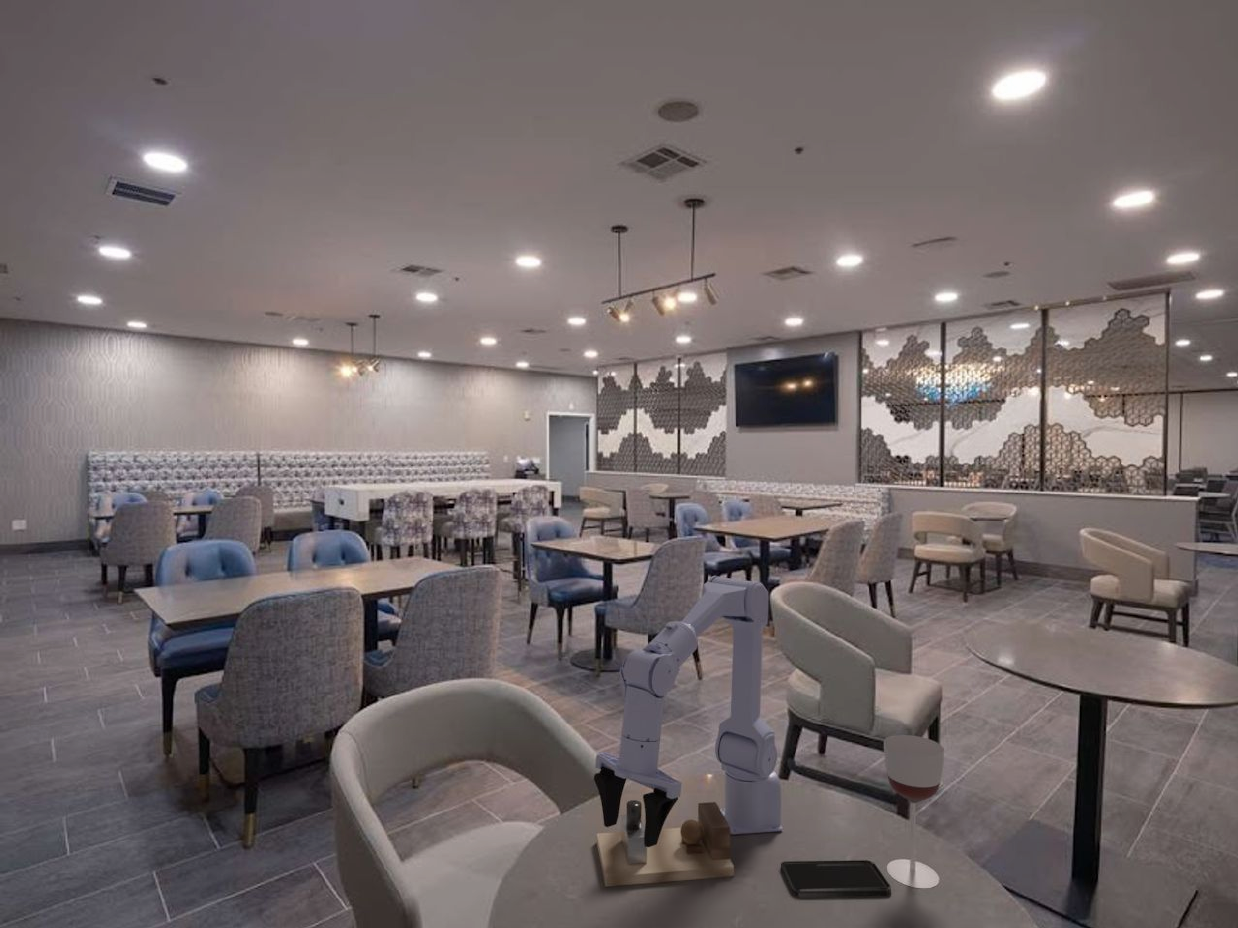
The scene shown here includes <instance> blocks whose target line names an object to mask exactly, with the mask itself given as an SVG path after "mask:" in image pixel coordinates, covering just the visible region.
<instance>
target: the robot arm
mask: <svg viewBox="0 0 1238 928" xmlns="http://www.w3.org/2000/svg"><path fill="white" fill-rule="evenodd" d="M769 598H770V597H769V591H768V589H767V588H766V587H765V586H764V584H763V583H762V582H761V581H759V580H758V581H757V580H754V581H752V580H744V579H736V578H728V577H722V576H718V575H713V576H711V577H710V578H709V579H708V580H707V581H706V582H705V583H704V584H703V585H702V589H701V597H700V599H699V600H697V602H696V604H695V605H694V606H693V607H692V608H691V609H690V611H689V612H688V613H687V614H686V616H685V617H684V618H683V619H682V620H681V621H680V620H674V621H669V622H667V623H666V624H665V626H664V628H662V630H661V631H660V632H658V634H657V635H655V637H654V638H653V639H652V640H651V641H649V642H648V644H646V646H645V647H643V649H635V650H633V651H631V652H630V653H628V654H627V655H626V656H625V657H624V660H623V662H622V664H621V665H622V666H621V667H620V668H619V680H620V683H621V685H622V693H621V694H622V695H621V696H622V698H623V700H624V708H623V716H622V725H621V733H620V742H619V751H618V755H614V754H611V753H608V752H600V753H597V754H596V756H595V765H594V767H595V768H596V769H598V770H599V772H597V773H595V774H594V775H593V780H594V783H595V786H596V788H597V790H598V791H597V792H598V794H599V797H600V798H599V799H600V803H601V809H602V810H601V811H602V818H603V826H604V827H606V828H610V827H612V826H615V825H616V826H617V823H618V819H619V815H620V807H621V800H622V795H623V792H624V788H625V784H626V782H627V780H630V781H632V782H635V783H637V784H639V785H642V786H645V788H649V789H652V790H653V791H651V792H648V793H644V794H643V795H642V798H643V799H642V800H643V804H644V805H643V806H644V812H645V813H644V814H645V824H644V829H645V833H644V845H645V846H646V847H651V846H653V845H656V844H657V842H658V839H659V835H660V833H661V830H662V829H663V827H664V824H665V822H666V820H667V818H668V815H669V814H670V812H671V810H672V809H673V807H674V806H675V804H676V803H677V802H678V800H679V797H681V792H682V784H683V783H682V782H681V781H679V780H677V779H675V778H673V777H672V776H670V775H669V774H667V773H666V772H663V771H662V770H661V769H660V768H658V763H659V756H660V755H659V753H660V744H661V735H662V728H663V727H662V725H663V718H664V717H663V715H664V706H665V697H666V696H665V695H667V694H668V693H669V692H670V693H671V691H672V689H673V687H674V685H675V683H676V679H677V676H678V675H679V672H680V667H681V666H682V665H684V663H685V662H686V661H687V660H688V659H689V658H690V657H691V656H692V655H693V654H694V652H695V651H696V650H697V648H698V647H699V646H698V645H699V644H698V641H699V640H698V638H699V637H700V636H701V635H702V634H703V633H705V631H706V630H708V629H709V628H710V627H711V626H713V625H714V624H715V622H717V621H718V620H719V619H721V618H723V619H725V621H726V622H727V623H728V625H730V626H731V628H732V630H733V633H732V634H733V636H732V637H733V638H732V664H731V665H732V667H731V668H732V669H731V670H732V671H731V672H732V673H731V698H730V700H731V701H730V715H729V716H728V717H726V718H724V719H723V720H722V721H721V722H720V723H719V725H718V733H717V737H716V740H715V744H714V754H715V758H716V760H717V761H718V763H720V764H721V770H722V771H724V775H725V776H724V777H725V778H724V808H719V809H720V811H721V812H722V814H723V816H724V817H725V819H726V821H727V823H728V824H729V826H730V835H743V834H744V835H745V834H757V833H758V834H759V833H770V832H781V831H783V826H782V789H781V783H780V778H779V776H778V774H777V773H776V771H775V768H776V765H777V761H778V751H777V747H776V741H775V731H774V730H773V728H772V727H770V726H769V724H767V722H766V721H765V720H764V719H763V718H762V717H761V704H762V702H761V700H762V671H763V670H762V667H763V666H762V665H763V663H762V662H763V637H764V636H763V633H764V631H763V630H764V627H765V626H768V622H769V621H768V618H769Z"/></svg>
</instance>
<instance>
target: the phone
mask: <svg viewBox="0 0 1238 928" xmlns="http://www.w3.org/2000/svg"><path fill="white" fill-rule="evenodd" d="M780 871H781V873H782V875H783V878H784V880H785V882H786V884H787V887H788V889H789V891H790V893H791V894H792V896H795V897H797V898H843V897H844V898H845V897H846V898H852V897H853V898H855V897H857V898H858V897H859V898H861V897H862V898H863V897H867V898H868V897H889V896H891V895H892V887H891V885H890V883H889V882H888V881H887V878H885V876H884V875H883V874H882V872H881V871H880V869H879V868H878V866H877V865H876V864H875V863H874V861H871V860H866V859H861V860H860V859H859V860H857V859H856V860H787V861H783V862H780Z"/></svg>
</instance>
